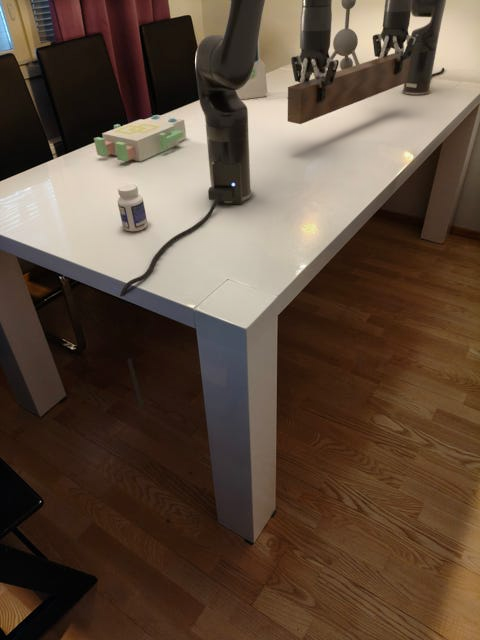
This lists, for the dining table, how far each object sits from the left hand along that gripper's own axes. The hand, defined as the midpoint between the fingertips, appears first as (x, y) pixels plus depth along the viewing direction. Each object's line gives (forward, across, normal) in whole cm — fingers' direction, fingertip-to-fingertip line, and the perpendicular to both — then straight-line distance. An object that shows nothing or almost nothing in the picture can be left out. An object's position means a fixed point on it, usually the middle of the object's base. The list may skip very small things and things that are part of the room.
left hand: (312, 100), depth 130 cm
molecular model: (+13, +44, -76) cm, 89 cm away
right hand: (0, 0, -39) cm, 39 cm away
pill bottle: (+13, 0, +61) cm, 63 cm away
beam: (+4, 0, -19) cm, 20 cm away
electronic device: (+13, +56, -34) cm, 67 cm away
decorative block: (+13, +40, +29) cm, 51 cm away
